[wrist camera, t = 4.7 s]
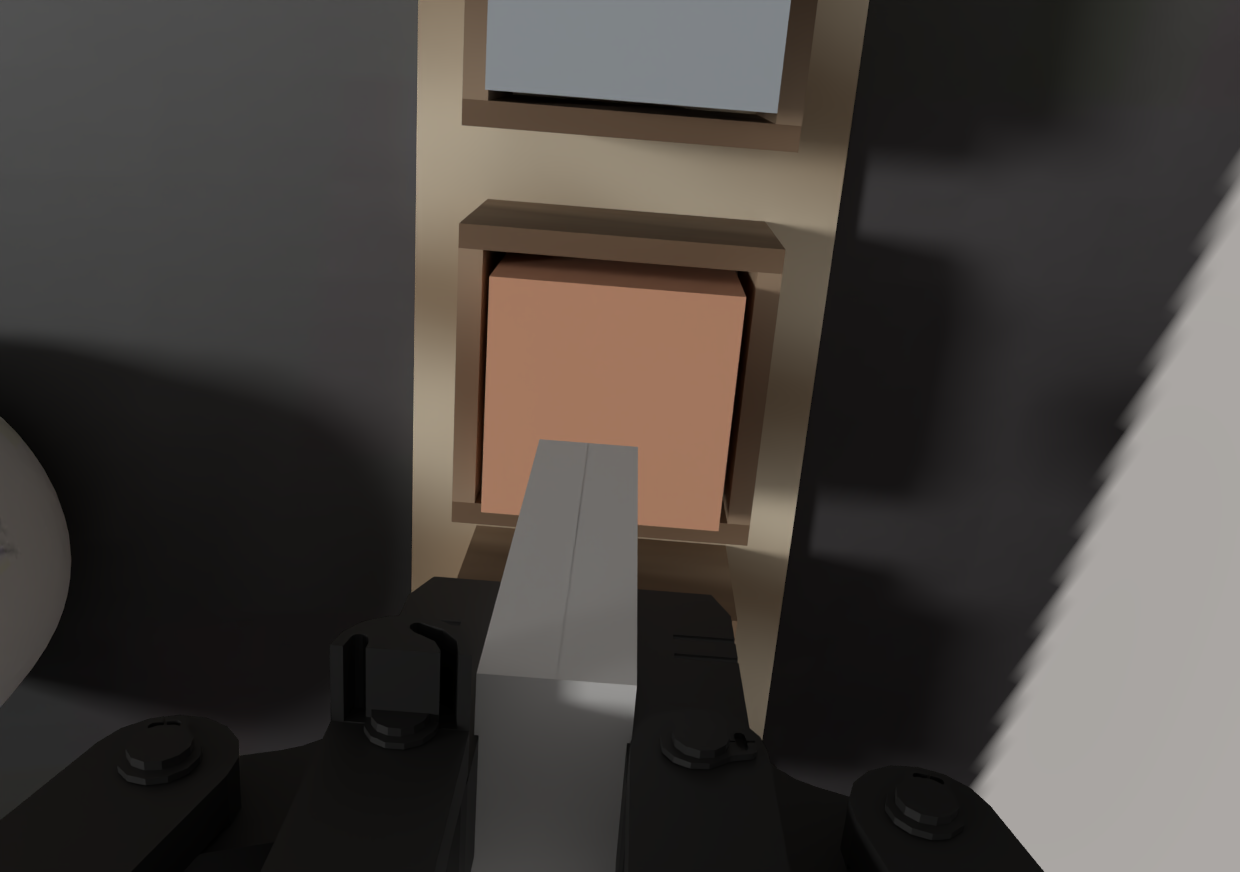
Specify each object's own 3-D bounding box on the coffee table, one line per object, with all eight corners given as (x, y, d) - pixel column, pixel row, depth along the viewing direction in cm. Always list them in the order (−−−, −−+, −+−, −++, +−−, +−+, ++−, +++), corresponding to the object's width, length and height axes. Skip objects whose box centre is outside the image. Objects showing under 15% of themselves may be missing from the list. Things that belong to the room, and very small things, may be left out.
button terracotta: (708, 462, 26) (718, 531, 22) (505, 446, 26) (480, 512, 22) (731, 260, 24) (746, 297, 20) (513, 243, 24) (489, 276, 20)
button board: (752, 783, 31) (769, 897, 27) (413, 755, 31) (375, 865, 27) (899, -239, 22) (958, -310, 18) (426, -278, 22) (374, -358, 18)
